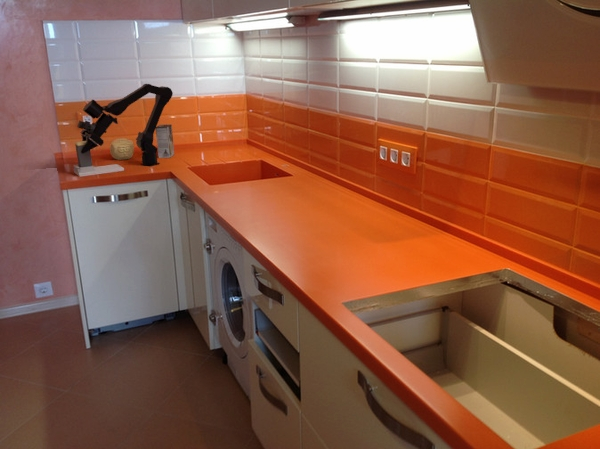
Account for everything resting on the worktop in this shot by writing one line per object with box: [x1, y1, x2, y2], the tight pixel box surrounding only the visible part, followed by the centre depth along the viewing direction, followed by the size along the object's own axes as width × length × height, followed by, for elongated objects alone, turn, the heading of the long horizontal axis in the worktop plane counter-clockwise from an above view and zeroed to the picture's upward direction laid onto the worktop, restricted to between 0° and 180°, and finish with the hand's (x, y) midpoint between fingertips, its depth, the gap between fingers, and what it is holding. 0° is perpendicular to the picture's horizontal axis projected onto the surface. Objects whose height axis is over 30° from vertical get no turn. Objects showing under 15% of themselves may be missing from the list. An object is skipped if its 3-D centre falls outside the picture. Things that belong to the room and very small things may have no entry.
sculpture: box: [109, 137, 135, 161], centre depth 281 cm, size 11×12×11 cm
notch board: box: [73, 163, 125, 178], centre depth 255 cm, size 20×11×4 cm, turn 124°
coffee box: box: [155, 124, 175, 159], centre depth 285 cm, size 9×6×16 cm
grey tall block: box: [74, 140, 93, 167], centre depth 249 cm, size 5×5×11 cm
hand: (80, 152), depth 248 cm, fingers closed on grey tall block, 5 cm apart
